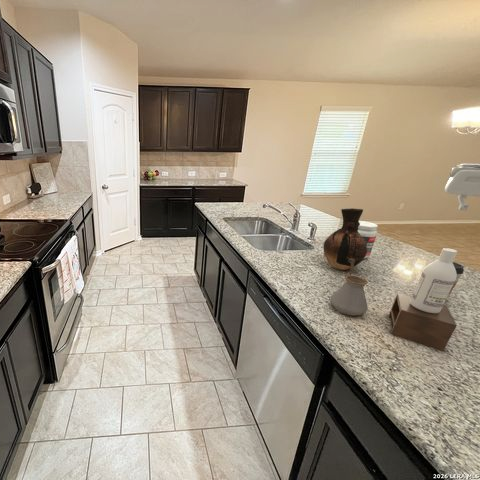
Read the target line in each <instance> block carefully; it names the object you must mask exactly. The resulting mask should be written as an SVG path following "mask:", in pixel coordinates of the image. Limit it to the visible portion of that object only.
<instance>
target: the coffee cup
mask: <svg viewBox="0 0 480 480" xmlns="http://www.w3.org/2000/svg"><path fill="white" fill-rule="evenodd" d="M453 265H454V267H455V269H456V273H457V276H456V280H455V283H454V285H453V287H452V289H451V291H450V293H449V295H451V293H452V291H453V290H454V289H455V287H456V285H457V283H458V282H459V280H460V278H461V276H462V275H463V274H464V272H465V269H464V268H465V267H464V265H463V264H461V263H458V262H455V261H453ZM449 295H448V297H449Z"/></svg>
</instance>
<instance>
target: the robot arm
mask: <svg viewBox="0 0 480 480" xmlns="http://www.w3.org/2000/svg"><path fill="white" fill-rule="evenodd" d="M449 177H450V178H449V179H448V181H447V183H446V184H445V187H444V192H445V193H446V194H448V195H456V196H457V195H458V196H457V200H458V203H459V206H458V210H459V211H468V208H469V206H470V205H469V204H468V203H465V200H466V199H467V198H468V196H469V197H480V163H467V162H464V163H462V162H461V164H457V165H454V166H453V167H452V168H451V171H450V173H449Z"/></svg>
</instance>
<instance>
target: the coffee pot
mask: <svg viewBox="0 0 480 480" xmlns="http://www.w3.org/2000/svg"><path fill="white" fill-rule="evenodd" d="M349 260H351V262H350V261H349ZM349 260H348V261H349V262H350V263H351V266H350V269H349V270H350V274H348V275H345V277H344V279H345V283H343V284H342V285H341V286H340V287H339V288H337V290H336V291H335V292H334V293H333V294H332V295H331V296H330V298H329V300H330V303H331V305H332V306H333V307H334V308H335V310H337V311H338V312H340V313H341V314H344V315H346V316H350V317H351V316H353V317H354V316H355V317H356V316H360V315H363V314H365V313H366V312H367V311H368V310H369V307H368V302H367V298H366V293H365V289H364V287H365V286H367V285H368V283H369V281H367V280H366V279H365V278H363V277H361V276H357V275H355V267H354V262H353V261H354V259H349Z"/></svg>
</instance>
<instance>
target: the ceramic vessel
mask: <svg viewBox="0 0 480 480" xmlns="http://www.w3.org/2000/svg"><path fill="white" fill-rule="evenodd" d="M340 211H341V217H342V226H341V228H338V229H337V230H335V231H333V232H332V233H330V234H329V235H328V236H327V238H326V239H325V241H324V242H323V255H324V257H325V259H326V260H327V262H328V263H329V265H330V266H332V267H333V268H335V269H337V270H342V271H347V270H351V269H350V266H351V263H350V262H351V260H349V259H354V261H353V262H354V268H355V267H357V266H358V265H360V264H361V262H363V261H364V260H365V259H366V258H365V256H366V253H367V245H366V242H365V240H364V239H363V237H362V236H361V235H360V233H359V232H358V226H359V225H360V223H359V221H360V219H361V217H362V215H363V212H364V209H363V208H354V207H353V208H341V209H340ZM364 258H365V259H364ZM348 260H349V261H350V262H349V261H348Z"/></svg>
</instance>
